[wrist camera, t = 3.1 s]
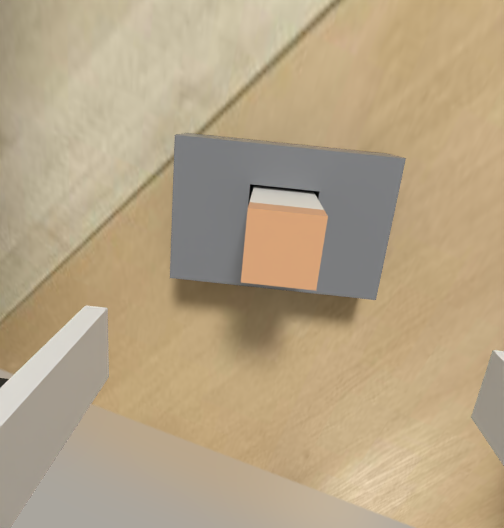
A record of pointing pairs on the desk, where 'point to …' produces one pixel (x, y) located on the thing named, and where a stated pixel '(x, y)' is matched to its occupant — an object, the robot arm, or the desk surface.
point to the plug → (283, 238)
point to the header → (286, 176)
